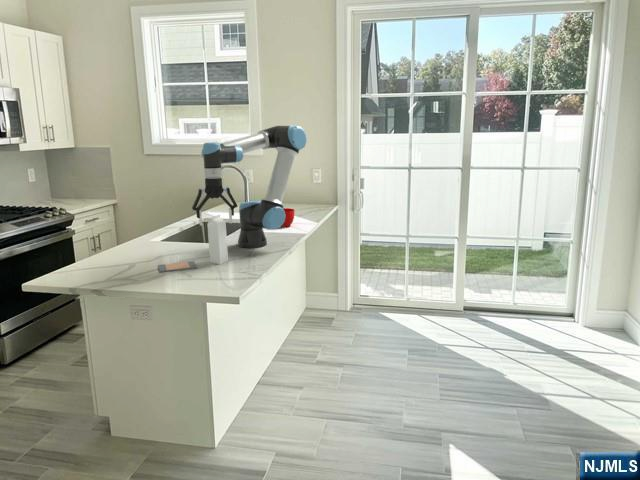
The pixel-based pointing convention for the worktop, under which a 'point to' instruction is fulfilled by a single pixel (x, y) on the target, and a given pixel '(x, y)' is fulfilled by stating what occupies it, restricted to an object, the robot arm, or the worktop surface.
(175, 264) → the board
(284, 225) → the ceramic cup
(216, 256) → the milk
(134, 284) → the worktop surface
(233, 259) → the worktop surface
